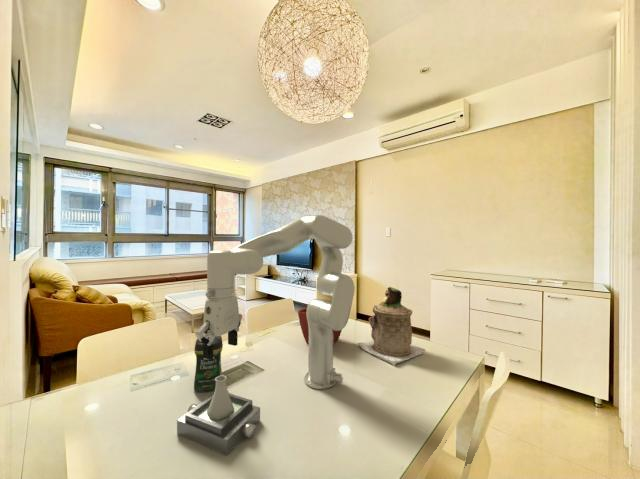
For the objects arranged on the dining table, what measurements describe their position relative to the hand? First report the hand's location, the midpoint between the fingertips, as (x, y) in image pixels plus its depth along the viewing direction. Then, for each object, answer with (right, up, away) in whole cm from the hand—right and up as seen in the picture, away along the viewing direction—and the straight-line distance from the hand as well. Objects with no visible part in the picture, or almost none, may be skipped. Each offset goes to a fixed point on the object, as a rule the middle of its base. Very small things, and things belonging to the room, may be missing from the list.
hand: (221, 351), depth 77 cm
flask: (0, -18, 0) cm, 18 cm away
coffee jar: (-12, -22, +20) cm, 32 cm away
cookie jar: (+64, -22, +53) cm, 86 cm away
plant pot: (+30, -22, +63) cm, 73 cm away
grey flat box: (0, -22, 0) cm, 22 cm away
